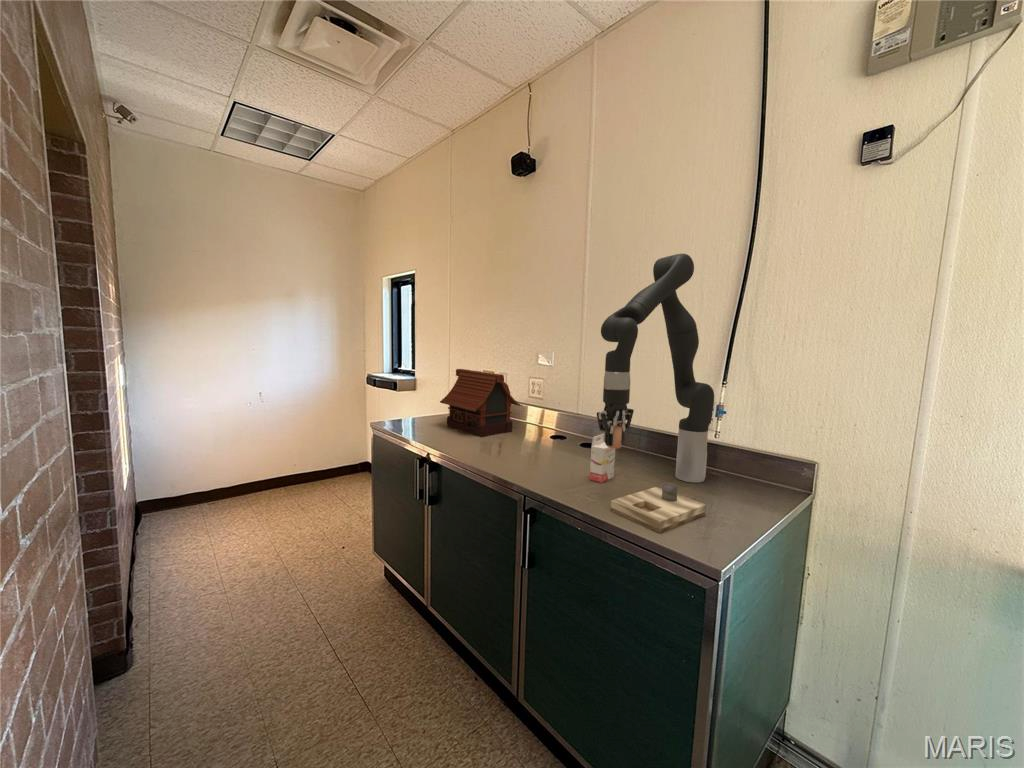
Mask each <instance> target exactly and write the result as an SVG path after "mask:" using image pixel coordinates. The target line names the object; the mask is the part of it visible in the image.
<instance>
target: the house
mask: <svg viewBox="0 0 1024 768" xmlns="http://www.w3.org/2000/svg"><path fill="white" fill-rule="evenodd" d="M455 377H457V379H456V381H455V383H454V384H453V386H452V388H451V389H450V391H449V392H448V393H447V395H445V396H444V397H443V398H442V399H441V400H440V401H439V403H440V404H443V405H448V406H449V407H447V409H448V410H449V412H448V413H449V415H447V417H446V426H447V427H448V428H451V429H454V430H456V431H457V430H458V431H460V432H464V433H466V434H468V435H469V434H470V435H472V436H476V437H478V438H485V437H490V436H495V435H500V434H505V433H506V434H507V433H508V434H509V433H512V432H513V421H512V420H511V414H513V412H512V411H511V407H512V405H515V406H519V407H520V406H521V404H520V403H519V402H518V401H517V400H515V398H513V396H512V394H511V391H510V388H509V385H508V383H506V382H505V378H504V377H505V376H504V374H499V373H491V372H486V371H484V372H483V371H478V370H473V369H472V370H471V369H464V368H455Z"/></svg>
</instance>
